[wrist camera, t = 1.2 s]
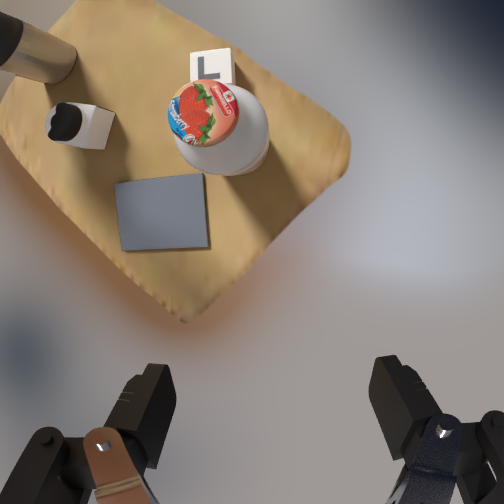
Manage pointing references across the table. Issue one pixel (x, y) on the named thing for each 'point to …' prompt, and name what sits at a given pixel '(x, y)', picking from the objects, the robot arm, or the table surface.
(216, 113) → the white plastic bottle
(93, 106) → the medicine bottle
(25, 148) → the table surface
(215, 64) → the letter cube
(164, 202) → the slate mat
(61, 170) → the table surface
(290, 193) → the table surface
